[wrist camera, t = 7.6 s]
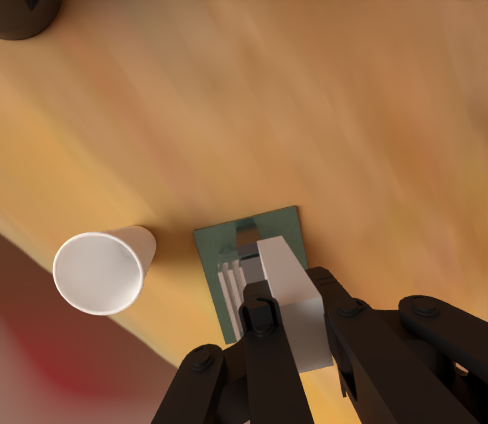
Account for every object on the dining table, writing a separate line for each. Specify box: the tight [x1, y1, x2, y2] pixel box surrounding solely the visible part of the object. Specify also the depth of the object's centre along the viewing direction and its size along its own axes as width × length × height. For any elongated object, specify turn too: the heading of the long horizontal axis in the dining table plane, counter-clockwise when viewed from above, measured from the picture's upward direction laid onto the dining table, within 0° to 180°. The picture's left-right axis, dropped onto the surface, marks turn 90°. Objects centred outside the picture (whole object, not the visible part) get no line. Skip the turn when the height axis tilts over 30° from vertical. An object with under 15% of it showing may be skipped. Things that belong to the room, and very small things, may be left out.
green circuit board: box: [193, 206, 308, 344], centre depth 35 cm, size 20×16×10 cm
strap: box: [240, 253, 265, 284], centre depth 31 cm, size 15×3×1 cm, turn 14°
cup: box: [53, 226, 156, 315], centre depth 33 cm, size 10×10×11 cm
